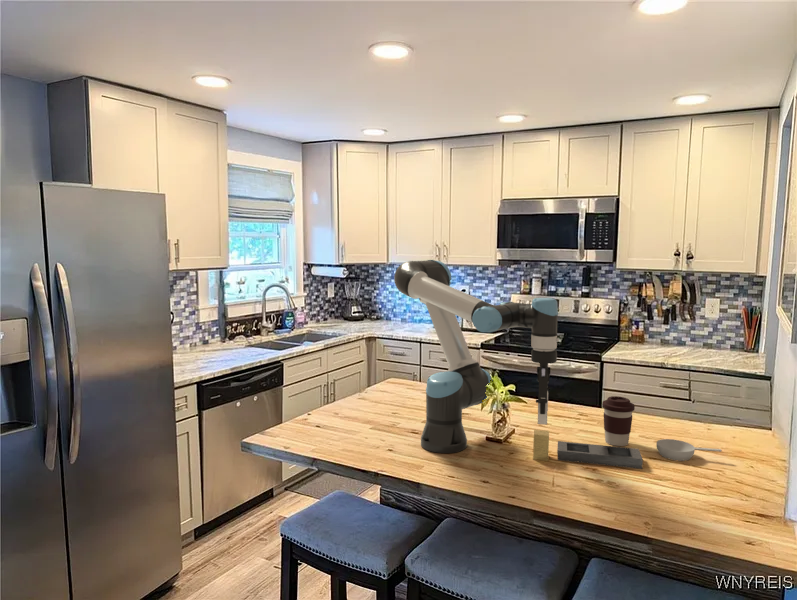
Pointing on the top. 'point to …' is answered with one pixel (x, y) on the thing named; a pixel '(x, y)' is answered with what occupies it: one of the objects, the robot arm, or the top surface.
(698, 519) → the top surface
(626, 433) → the coffee cup
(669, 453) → the small pan
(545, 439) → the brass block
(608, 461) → the gray slotted rack
